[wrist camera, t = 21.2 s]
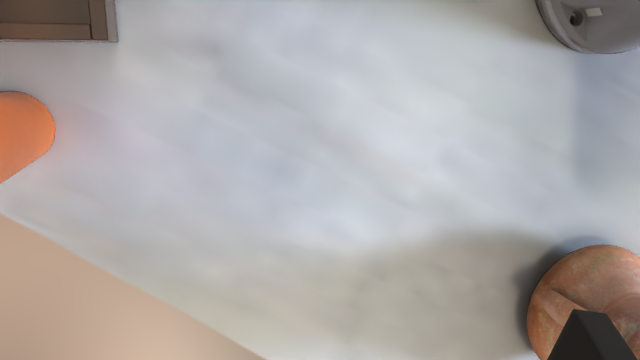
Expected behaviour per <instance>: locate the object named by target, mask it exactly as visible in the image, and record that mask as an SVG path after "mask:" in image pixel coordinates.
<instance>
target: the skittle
mask: <svg viewBox="0 0 640 360" xmlns="http://www.w3.org/2000/svg"><path fill="white" fill-rule="evenodd" d="M54 137H55V124H54V120H53V118H52V116H51V114H50V112H49V110H48V109H47V108H46V107H45V106H44V105H43V104H42V103H41V102H40V101H39V100H37V99H36V98H34V97H32V96H30V95H28V94H25V93H21V92H16V91H6V92H0V184H1V183H2V182H4V181H5V180H7V179H8V178H10V177H11V176H13V175H14V174H16V173H17V172H19V171H20V170H21V169H23V168H24V167H26V166H27V165H29V164H30V163H32V162H33V161H35V160H36V159H38V158H39V157H41V156H42V155H43V154H45V153H46V152H47V151H48V149H49V148H50V147H51V145H52V143H53V140H54Z"/></svg>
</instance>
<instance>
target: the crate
mask: <svg viewBox="0 0 640 360" xmlns="http://www.w3.org/2000/svg"><path fill="white" fill-rule="evenodd" d="M0 41H22V42H118V32H117V22H116V11H115V0H0Z"/></svg>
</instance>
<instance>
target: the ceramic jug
mask: <svg viewBox="0 0 640 360" xmlns="http://www.w3.org/2000/svg"><path fill="white" fill-rule="evenodd" d="M573 309H579V310H585V311H592V312H599V313H605V314H607V315H608V317H609V318H610V320H611V321H612V323H613V324H614V326H615V327H616V328H617V330H618V331H619V333H620V334H621V336H622V337H623V339H624V340H625V342H626V343H627V345H628V346H629V347H630V349H631V350H632V352H633V353H634V355H635V356H636V358H637V359H638V360H640V258H639V257H638V256H637V255H636V254H634V253H632V252H631V251H629V250H627V249H624V248H621V247H617V246H611V245H593V246H588V247H584V248H581V249H578V250H576V251H573V252H571V253H569V254H568V255H566V256H565V257H563V258H562V259H560V260H559V261H558V262H557V263H555V264H554V265H553V266H552V267H551V268H550V269H549V270H548V271H547V272H546V273H545V275H544V276H543V277H542V278H541V280H540V281H539V283H538V284H537V286H536V288H535V290H534V292H533V294H532V296H531V299H530V303H529V307H528V313H527V332H528V337H529V340H530V343H531V345H532V347H533V349H534V351H535V353H536V354H537V356H538V357H539V358H540V360H547V359H548V357H549V355H550V353H551V351H552V349H553V347H554V345H555V343H556V341H557V339H558V337H559V335H560V333H561V331H562V329H563V327H564V325H565V323H566V322H567V320H568V318H569V316H570V314H571V312H572V310H573Z"/></svg>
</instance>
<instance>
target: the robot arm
mask: <svg viewBox="0 0 640 360" xmlns="http://www.w3.org/2000/svg"><path fill="white" fill-rule="evenodd" d="M537 4H538V7H539V10H540V13H541V15H542V17H543V19H544V21H545V23H546V25H547V26H548V28H549V29H550V31H551V32H552V33H553V34H554V35H555V36H556V37H557V39H558V40H560V41H561V42H562V43H563V44H565V45H566V46H568V47H570V48H572V49H574V50H576V51H579V52H582V53H587V54H616V53H622V52H625V51H629V50H632V49H635V48H637V47H640V0H537ZM547 360H638V359H637V358H636V356H635V355H634V353H633V352H632V350H631V349H630V347H629V346H628V345H627V343H626V342H625V340H624V339H623V337H622V336H621V334H620V333H619V331H618V330H617V328H616V327H615V326H614V324H613V323H612V321H611V320H610V318H609V317H608V315H607V314H605V313H599V312H592V311H585V310H579V309H573V310H572V312H571V314H570V316H569V318H568V320H567V322H566V323H565V325H564V327H563V329H562V331H561V333H560V335H559V337H558V339H557V341H556V343H555V345H554V347H553V349H552V351H551V353H550V355H549V357H548V359H547Z"/></svg>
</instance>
